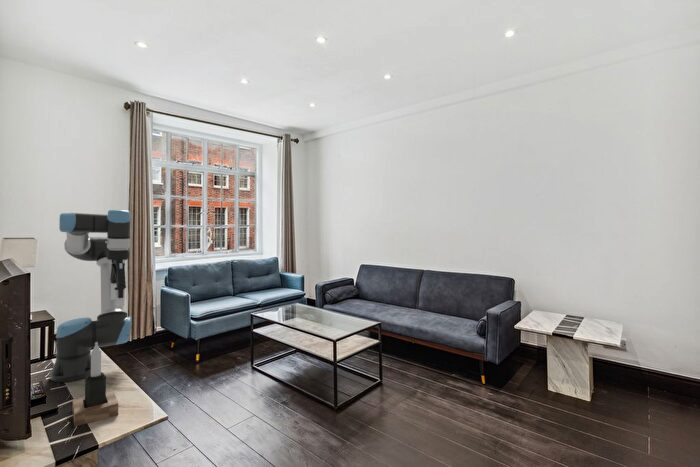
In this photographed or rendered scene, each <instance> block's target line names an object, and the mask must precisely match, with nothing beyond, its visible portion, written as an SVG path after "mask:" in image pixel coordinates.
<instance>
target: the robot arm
mask: <svg viewBox="0 0 700 467" xmlns="http://www.w3.org/2000/svg"><path fill="white" fill-rule="evenodd" d="M58 221H59V224H58V225H59V232H61V233H66V234H65V235H66V239H65V241H64V244H63V245H64V246H63V247H64V251H65V252H66V253H67V254H68V255H69V256H70V257H73V258H75V259H77V260H80V261H85V262H93V261H94V262H96V265H97V266H98V267H99V268H100V313H99V314H98V315H97V317H96V320H93V319H92V318H91V317H79V318H74V319H70V320H67V321H64V322H62V323H61V324H58V326H57V328H56V335H55V338H56V347H55V348H56V352H55V354H56V355H55V362H54V363H53V367H52V369H51V372H50V378H49V379H50V381H52V382H55V383H68V382H75V381H79V380H82V379H85V378H86V377H88V375H90V374H91V352H92V349H94V347H95V343H96V342H97V343H98V347H99V348H101V347H102V348H103V347H110V346H114V345H115V346H117V345H122V344H125V343H127V342H128V341H129V340H130V335H131V329H132V328H131V327H132V316H128V312H127V311H125V310H124V307H125V297H126V296H125V292H126V288H127V285H126V268H125V267H126V261H127V260H129V259H130V252H131V251H130V248H131V212H130V210H120V209H118V210H117V209H110V210H107V214H105V213H102V214H101V213H82V212H81V213H78V212H61V213H60V215H59V220H58ZM90 233H91V234H92V233H94V234H95V233H97V234H98V233H99V234H101V233H102V234H107V235H106V237H101V236H100V237H99V236H93V237H92V236H90Z"/></svg>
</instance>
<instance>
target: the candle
mask: <svg viewBox="0 0 700 467" xmlns="http://www.w3.org/2000/svg"><path fill="white" fill-rule="evenodd" d="M92 349H93V350H91V374H90V375H88V377H86V378H84V397H85V408H88V407H92V406H96V405H100V404H104V403H106V392H107V375H105V373H104V372H102V350H101V349H100V347H98V343H97V342H96V343H95V347H94V348H92Z"/></svg>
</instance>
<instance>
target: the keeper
mask: <svg viewBox="0 0 700 467" xmlns="http://www.w3.org/2000/svg"><path fill="white" fill-rule="evenodd" d="M71 411H72V418H73V425H74V427H78V426H83V425H86V424H89V423H93V422H96V421H99V420H104V419H106V418H111V417H115V416H117V415H119V402H118V399H117V395H116V393H115V390H114V389H112V390H108V391H107V390H106V403H104V404H100V405H96V406H92V407H88V408H85V396H82V397H81V396H80V397H78V398H73V399H72V410H71Z"/></svg>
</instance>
